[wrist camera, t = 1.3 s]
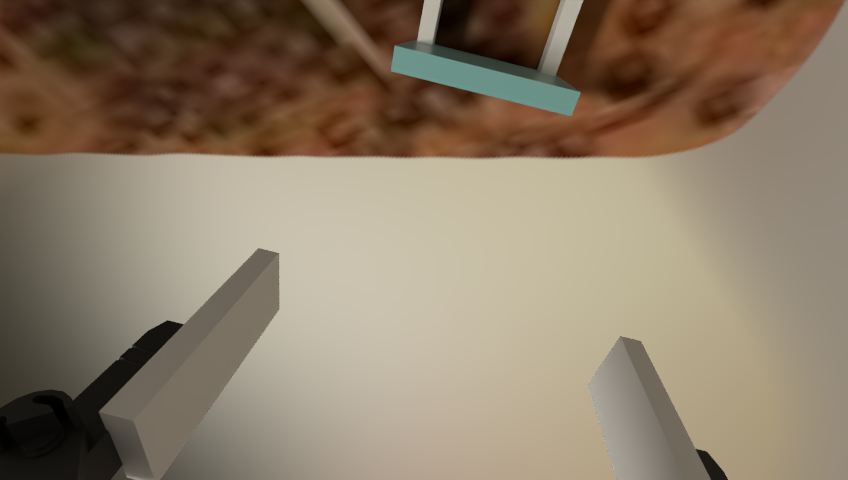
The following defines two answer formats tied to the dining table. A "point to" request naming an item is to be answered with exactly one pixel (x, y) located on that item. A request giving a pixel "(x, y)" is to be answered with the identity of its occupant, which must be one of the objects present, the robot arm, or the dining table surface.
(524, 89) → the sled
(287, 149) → the dining table surface
